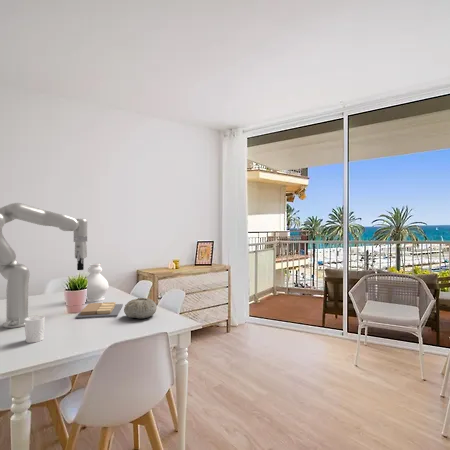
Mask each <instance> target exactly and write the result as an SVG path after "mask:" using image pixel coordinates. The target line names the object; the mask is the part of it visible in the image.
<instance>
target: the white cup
mask: <svg viewBox="0 0 450 450" xmlns="http://www.w3.org/2000/svg"><path fill="white" fill-rule="evenodd" d="M45 320H46V317H45V315H34V316H33V315H32V316H28V318H25V326H24V332H25V333H24V334H25V342H26V343H29V344H31V343H32V344H33V343H34V344H35V343H38V342H41V341H43V340H44V337H45V336H44V335H45V322H46V321H45Z"/></svg>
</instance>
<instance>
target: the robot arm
mask: <svg viewBox="0 0 450 450" xmlns="http://www.w3.org/2000/svg"><path fill="white" fill-rule="evenodd" d="M14 220H19V221H24V222H28V223H31V224H35V225H39V226H45V227H54V228H58V229H59V230H61V231H63V232H73V243H74V259H76V263H77V264H76V268H77V271H84V268H85V267H84V264H85V262H84V261H85V260H84V259H86V258H88V249H87V246H88V245H87V242H88V220H87V219H86V218H74V217H71V216H69V215H65V214H62V213H56V212H52V211H49V210H45V209H41V208H39V207H36V206H32V205H28V204H24V203H21V202H13V203H9V204H7V205H4V206H2V207H0V275H1V276H2V277H3V278H4V279H6V280H7V284H6V293H5V294H6V300H5V301H6V302H5V303H6V307H5V308H6V310H5V311H6V313H5V314H6V315H5V316H6V318H5V319H6V321H5V322H3V323H2V328H4V329H5V328H6V329H14V328H21V327H25V318H28V317H29V282H30V275H31V274H30V270H29V268H28V266H26V265H25V264H22V263H19V262H18V261H17V259H16V258H17V256H16V252H15V250H14V249H13V248H12V246H11V245H10V244H9V243H8V241H7V240H6V238H5V237H4V234H3V227H4V226H5V225H6V224H8V223H10V222H13V221H14Z"/></svg>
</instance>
